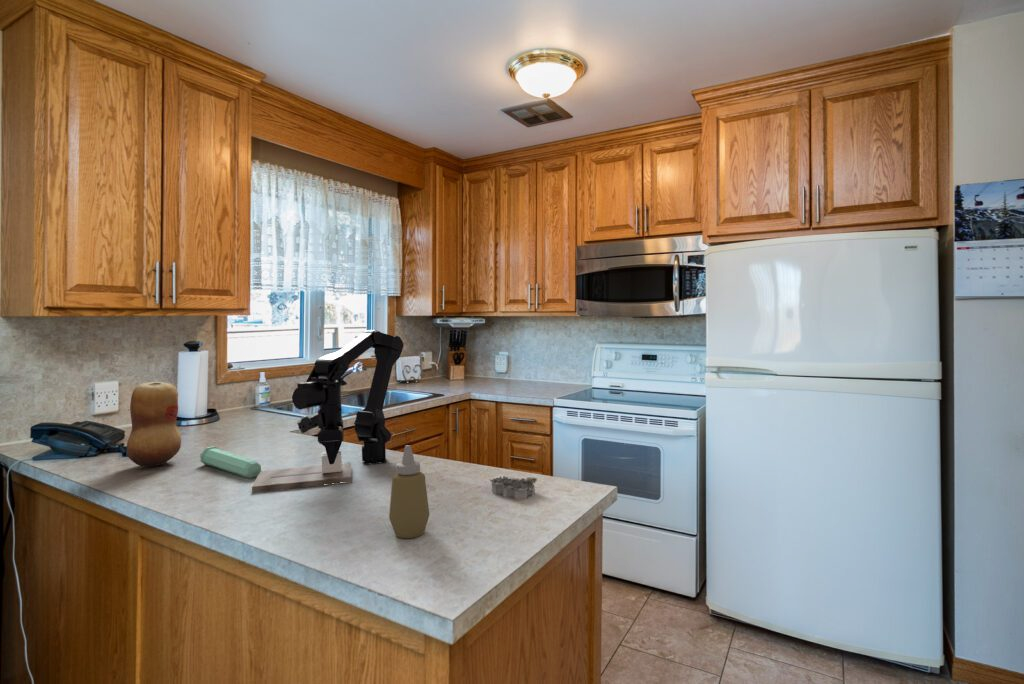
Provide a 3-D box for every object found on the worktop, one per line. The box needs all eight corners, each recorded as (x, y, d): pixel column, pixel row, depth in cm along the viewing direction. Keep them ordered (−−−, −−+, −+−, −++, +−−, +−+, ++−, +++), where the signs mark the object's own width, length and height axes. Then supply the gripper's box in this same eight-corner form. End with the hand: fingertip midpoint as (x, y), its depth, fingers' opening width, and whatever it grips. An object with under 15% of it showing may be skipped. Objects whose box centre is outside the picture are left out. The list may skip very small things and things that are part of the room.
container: (260, 455, 146) (215, 442, 160) (241, 468, 141) (196, 453, 155) (268, 472, 148) (223, 458, 162) (250, 485, 144) (204, 469, 158)
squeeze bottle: (392, 526, 111) (390, 441, 110) (431, 524, 111) (429, 440, 110) (386, 542, 102) (384, 451, 102) (428, 540, 103) (426, 450, 102)
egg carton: (539, 494, 130) (539, 478, 130) (519, 503, 124) (519, 486, 124) (506, 485, 137) (506, 470, 136) (486, 493, 131) (486, 477, 131)
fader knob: (341, 467, 147) (341, 450, 147) (341, 471, 144) (341, 454, 143) (322, 469, 146) (322, 452, 146) (322, 473, 142) (321, 455, 142)
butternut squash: (162, 471, 151) (158, 385, 150) (116, 472, 151) (111, 386, 150) (192, 458, 165) (189, 379, 164) (150, 458, 165) (146, 379, 164)
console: (351, 467, 153) (350, 462, 153) (351, 482, 140) (351, 476, 140) (260, 476, 146) (260, 470, 146) (252, 492, 133) (251, 486, 132)
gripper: (301, 399, 150) (303, 453, 151) (295, 411, 133) (297, 472, 133) (342, 397, 154) (344, 450, 155) (341, 408, 136) (343, 467, 137)
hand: (332, 459), depth 145 cm, fingers open, 9 cm apart
